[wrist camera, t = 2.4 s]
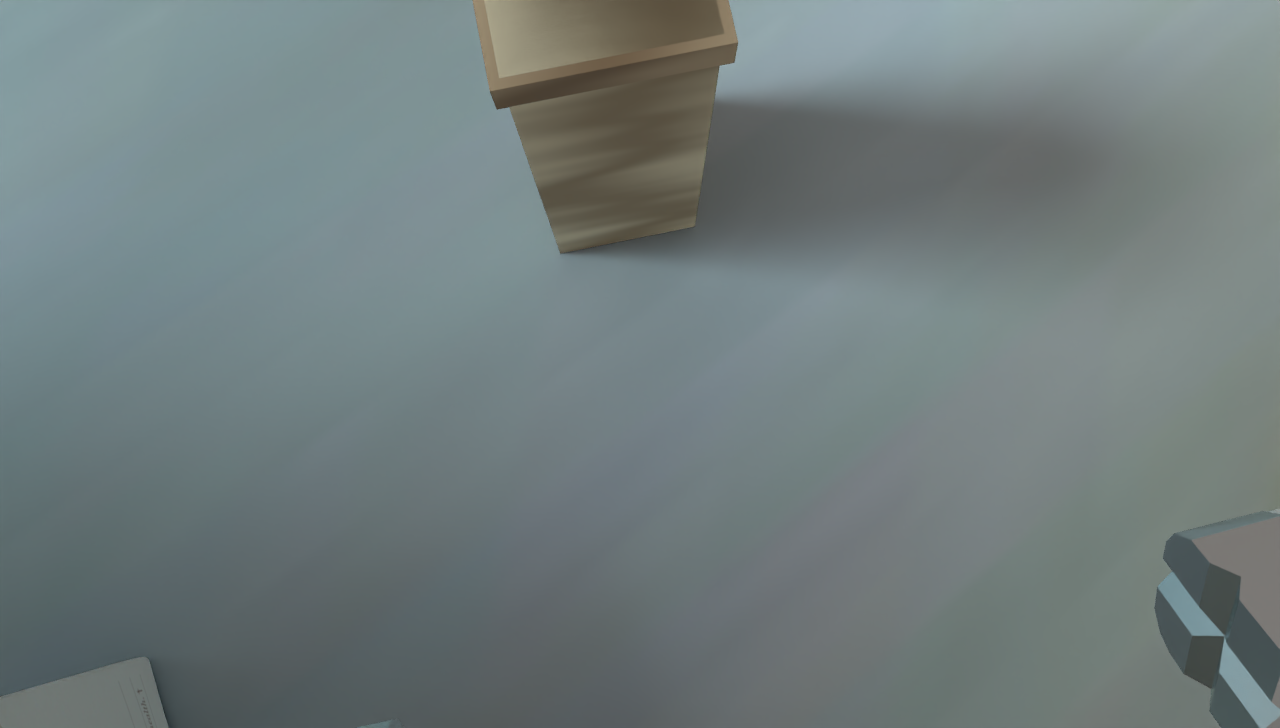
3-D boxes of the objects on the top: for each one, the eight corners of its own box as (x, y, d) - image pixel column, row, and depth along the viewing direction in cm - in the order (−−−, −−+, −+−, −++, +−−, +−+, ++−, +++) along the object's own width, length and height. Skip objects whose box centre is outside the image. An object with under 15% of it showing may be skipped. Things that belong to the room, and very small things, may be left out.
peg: (555, 261, 29) (489, 91, 18) (527, 120, 30) (446, -137, 18) (702, 231, 29) (738, 42, 18) (672, 91, 30) (685, -183, 18)
